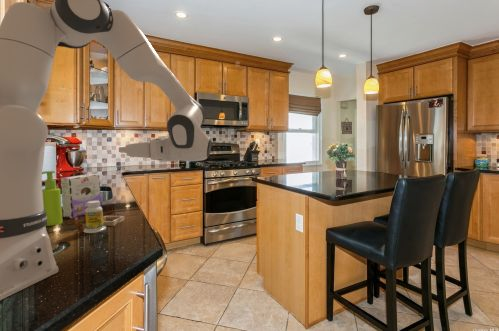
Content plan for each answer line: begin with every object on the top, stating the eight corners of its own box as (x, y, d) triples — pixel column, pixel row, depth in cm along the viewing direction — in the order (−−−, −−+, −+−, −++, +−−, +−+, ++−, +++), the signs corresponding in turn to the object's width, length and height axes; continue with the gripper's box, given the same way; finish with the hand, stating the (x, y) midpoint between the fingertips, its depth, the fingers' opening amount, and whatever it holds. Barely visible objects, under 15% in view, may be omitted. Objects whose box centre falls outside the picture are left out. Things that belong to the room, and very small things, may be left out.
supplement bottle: (102, 225, 105) (101, 199, 104) (104, 229, 101) (103, 202, 100) (85, 228, 102) (84, 201, 101) (86, 232, 98) (85, 204, 97)
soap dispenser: (37, 225, 107) (33, 172, 105) (56, 220, 114) (52, 170, 112) (47, 227, 105) (42, 172, 103) (66, 222, 111) (62, 170, 109)
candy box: (93, 209, 131) (90, 173, 130) (102, 210, 129) (99, 174, 127) (62, 217, 119) (59, 177, 117) (72, 218, 116) (69, 178, 115)
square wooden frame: (113, 225, 106) (113, 221, 106) (93, 225, 107) (92, 221, 107) (125, 219, 114) (124, 215, 114) (105, 219, 115) (105, 215, 114)
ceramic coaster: (98, 233, 98) (98, 232, 98) (78, 232, 98) (78, 231, 98) (110, 226, 105) (110, 225, 104) (91, 226, 105) (91, 225, 105)
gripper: (175, 139, 110) (140, 140, 112) (152, 139, 90) (110, 140, 91) (175, 156, 111) (141, 156, 112) (153, 160, 91) (111, 160, 92)
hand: (127, 149), depth 102 cm, fingers open, 8 cm apart
